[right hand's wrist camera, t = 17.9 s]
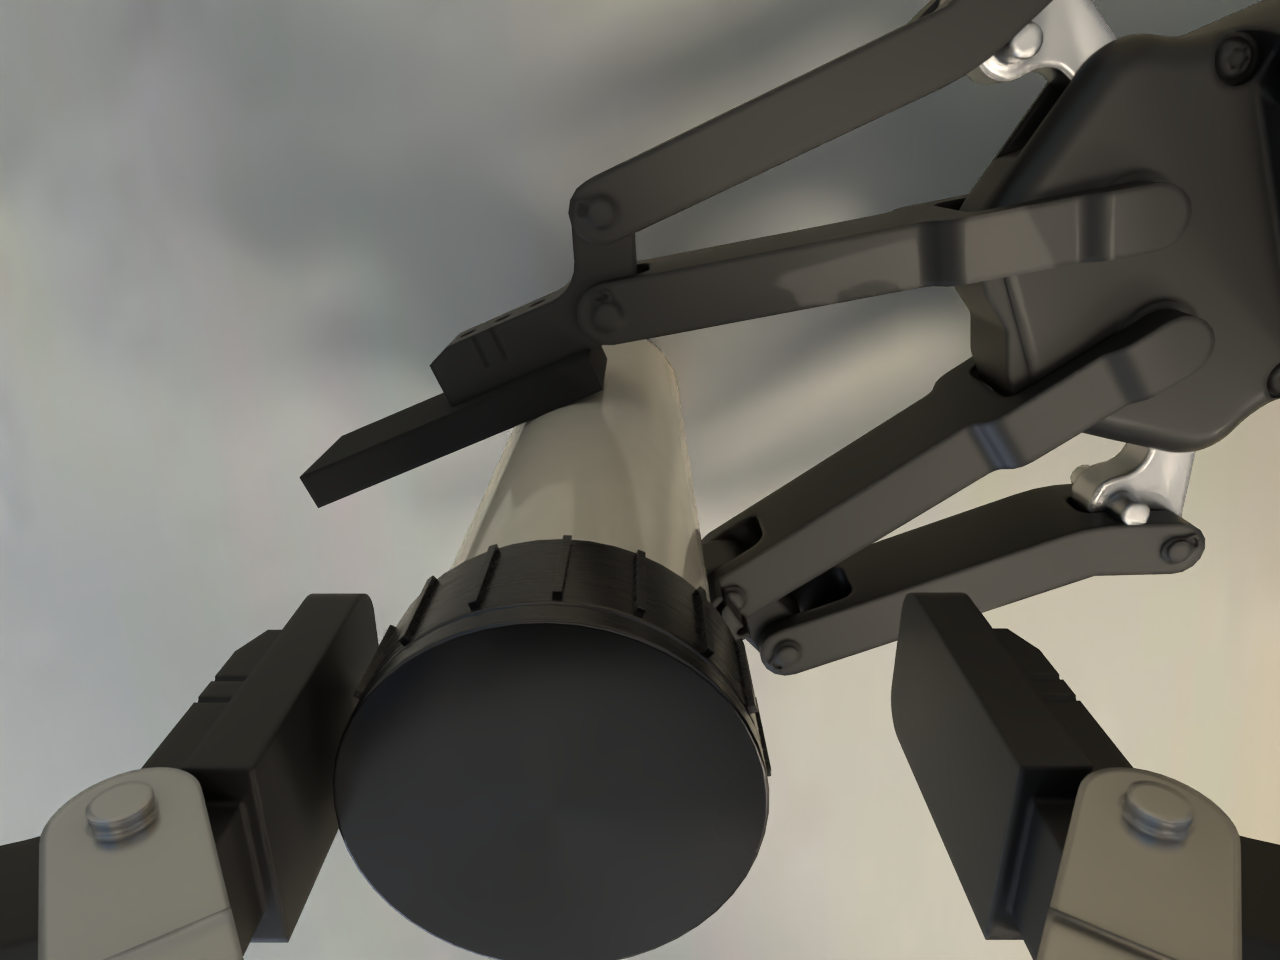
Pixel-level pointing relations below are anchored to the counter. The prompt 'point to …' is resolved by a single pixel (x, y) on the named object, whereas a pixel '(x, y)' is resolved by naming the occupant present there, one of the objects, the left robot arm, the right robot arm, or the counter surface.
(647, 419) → the jar
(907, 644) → the right robot arm
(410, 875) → the lid
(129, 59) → the counter surface
